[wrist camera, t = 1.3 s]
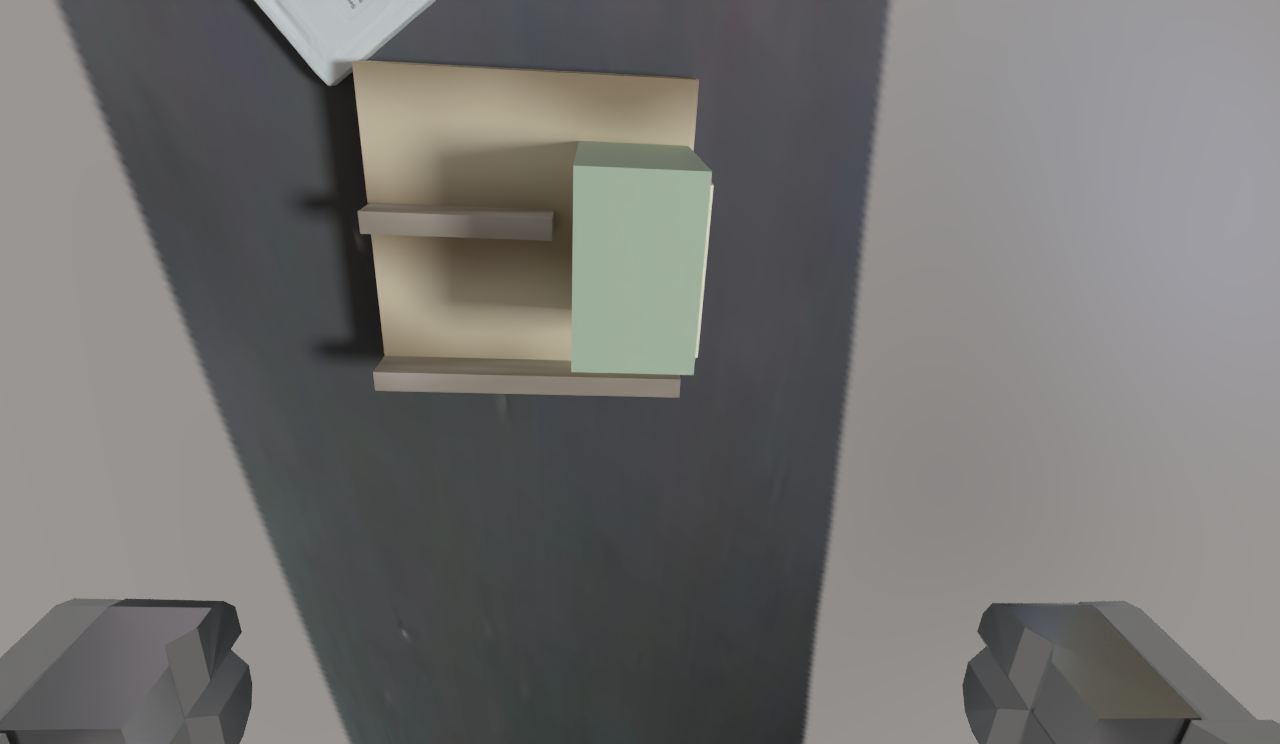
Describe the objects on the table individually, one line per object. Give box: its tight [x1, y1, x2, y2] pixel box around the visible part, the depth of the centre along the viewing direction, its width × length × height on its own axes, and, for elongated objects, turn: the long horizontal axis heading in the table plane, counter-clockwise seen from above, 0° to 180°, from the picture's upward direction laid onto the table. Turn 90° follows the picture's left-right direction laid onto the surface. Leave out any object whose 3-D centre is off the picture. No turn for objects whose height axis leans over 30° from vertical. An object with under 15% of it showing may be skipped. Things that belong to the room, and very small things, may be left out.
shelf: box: [352, 61, 699, 397], centre depth 27 cm, size 12×12×4 cm
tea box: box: [571, 141, 714, 375], centre depth 24 cm, size 4×6×6 cm, turn 177°
